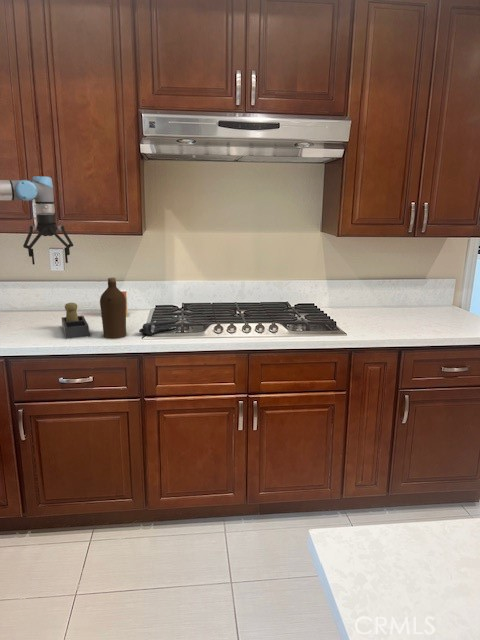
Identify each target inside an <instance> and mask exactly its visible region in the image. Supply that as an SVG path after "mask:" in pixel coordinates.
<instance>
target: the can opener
mask: <svg viewBox="0 0 480 640" xmlns="http://www.w3.org/2000/svg"><path fill="white" fill-rule="evenodd" d="M175 324H177V321H175V320H159V321H156V320H154V321H151V322H146V323H144V324H143V325H142V328H139V330H138V332H139V333H141V334H145V335H148V336H152V335H155V334H156V333H158V332H161V331H172V330H175V329H177V327H176V328H173V329H169V328H171V327H173V326H174V325H175ZM166 329H168V330H166ZM160 330H161V331H160ZM153 333H154V334H153Z"/></svg>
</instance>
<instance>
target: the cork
mask: <svg viewBox="0 0 480 640" xmlns="http://www.w3.org/2000/svg"><path fill="white" fill-rule="evenodd" d="M64 309H65V313H66V315H65V317H66V322H71V321H79V320H78V316H79V315H78V311H77V309H78V304H77V303H75V302H67V303H65V304H64Z"/></svg>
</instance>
